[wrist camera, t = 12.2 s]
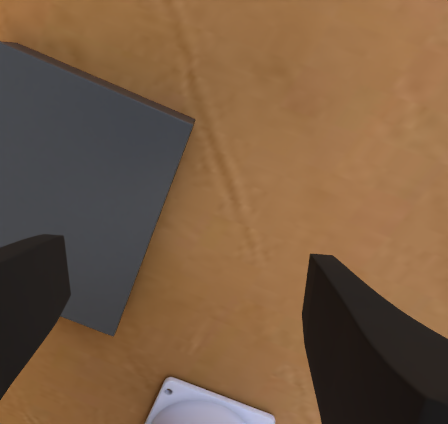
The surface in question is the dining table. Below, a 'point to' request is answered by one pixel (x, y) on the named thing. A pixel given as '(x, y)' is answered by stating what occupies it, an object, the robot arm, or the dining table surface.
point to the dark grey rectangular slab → (84, 174)
